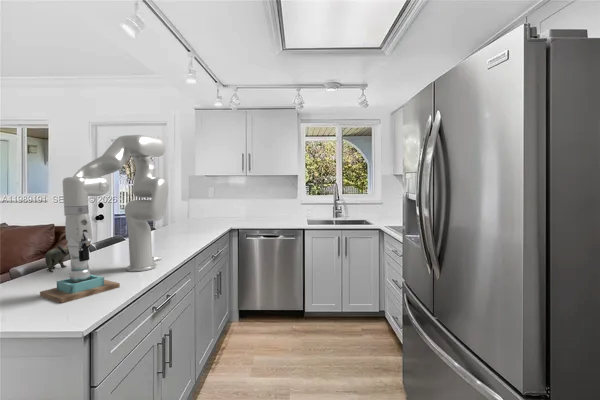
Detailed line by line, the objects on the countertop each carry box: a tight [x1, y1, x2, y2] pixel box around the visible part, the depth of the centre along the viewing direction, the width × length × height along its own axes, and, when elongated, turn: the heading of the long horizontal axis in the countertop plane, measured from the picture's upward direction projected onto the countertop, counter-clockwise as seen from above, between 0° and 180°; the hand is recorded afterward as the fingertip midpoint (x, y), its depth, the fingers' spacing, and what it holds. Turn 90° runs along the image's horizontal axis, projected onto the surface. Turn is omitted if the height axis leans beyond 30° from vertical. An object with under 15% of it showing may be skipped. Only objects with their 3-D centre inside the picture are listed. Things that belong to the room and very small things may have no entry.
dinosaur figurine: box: [42, 244, 69, 273], centre depth 164 cm, size 22×8×11 cm, turn 179°
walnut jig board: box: [39, 273, 121, 304], centre depth 131 cm, size 20×16×4 cm
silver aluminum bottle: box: [67, 238, 91, 283], centre depth 130 cm, size 6×7×20 cm
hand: (79, 259), depth 130 cm, fingers closed on silver aluminum bottle, 6 cm apart
